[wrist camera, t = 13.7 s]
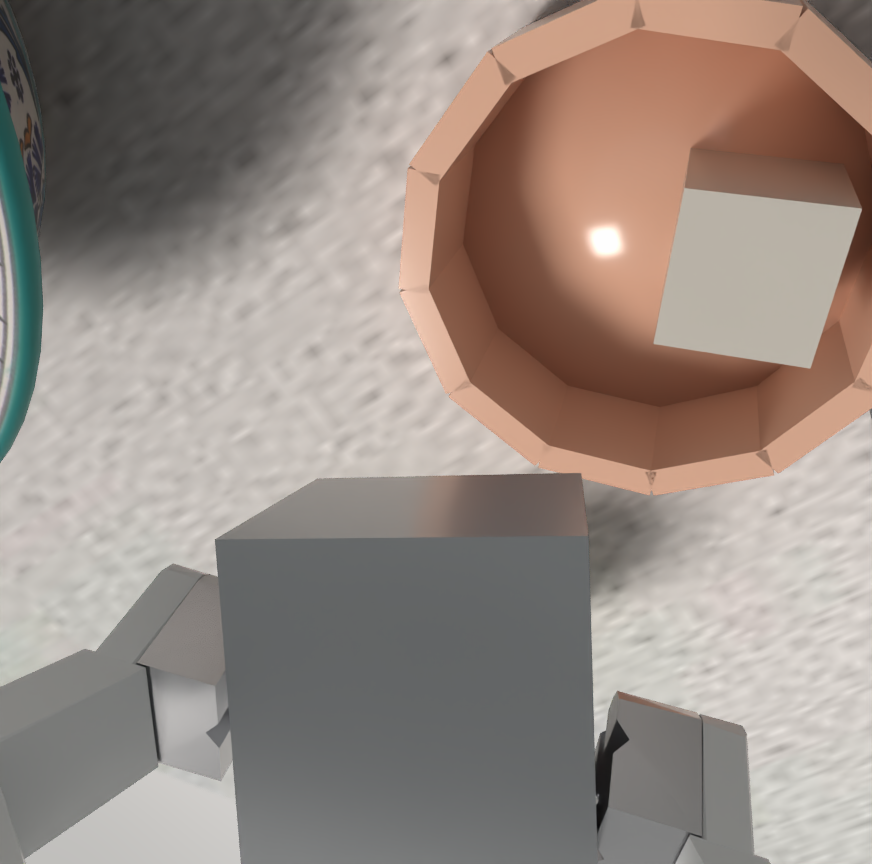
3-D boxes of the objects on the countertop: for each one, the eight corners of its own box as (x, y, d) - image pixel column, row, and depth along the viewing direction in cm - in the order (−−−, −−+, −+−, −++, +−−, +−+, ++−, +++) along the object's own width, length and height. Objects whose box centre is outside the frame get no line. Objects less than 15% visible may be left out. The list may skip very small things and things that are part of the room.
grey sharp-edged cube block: (581, 472, 11) (587, 536, 8) (588, 719, 12) (598, 884, 8) (317, 478, 12) (215, 539, 9) (332, 713, 12) (241, 864, 9)
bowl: (1000, 14, 18) (1058, 41, 15) (807, 454, 25) (819, 538, 22) (472, -57, 20) (423, -47, 17) (428, 365, 27) (387, 429, 24)
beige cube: (843, 163, 20) (862, 208, 17) (800, 307, 22) (810, 368, 19) (690, 147, 21) (684, 188, 18) (662, 288, 23) (653, 344, 20)
